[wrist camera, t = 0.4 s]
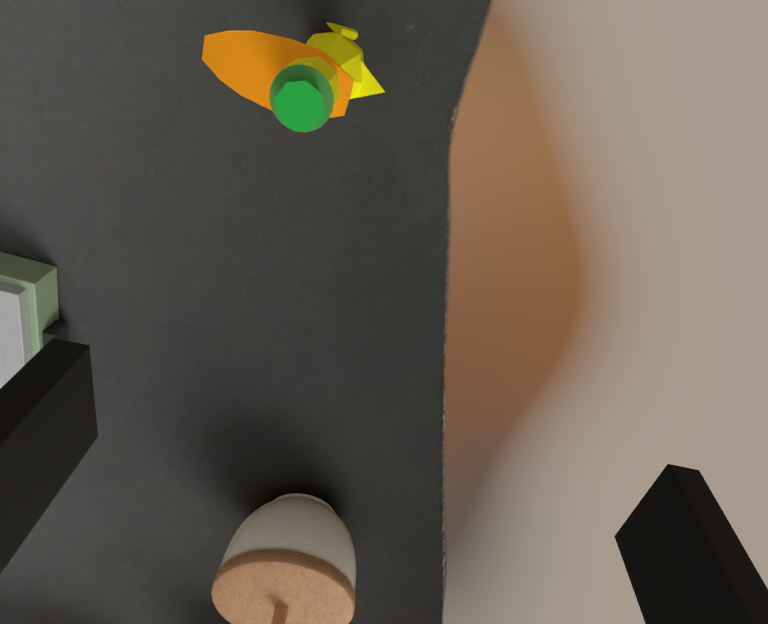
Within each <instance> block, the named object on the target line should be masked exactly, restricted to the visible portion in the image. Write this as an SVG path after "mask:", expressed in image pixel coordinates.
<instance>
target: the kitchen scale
mask: <svg viewBox="0 0 768 624" xmlns="http://www.w3.org/2000/svg"><path fill="white" fill-rule="evenodd" d="M52 338H55V339H60V340H65V341H67V325H66V322H63V321H59V307H58V286H57V267H56V266H53V265H49V264H45V263H42V262H38V261H34V260H30V259H27V258H23V257H19V256H15V255H12V254H8V253H4V252H0V388H2V387H3V386H4V385H5V384H6V383H7V382H8V381H9V380H10V379H11V378H12V377H13V376H14V375H15V374H16V373H17V372H18V371H19V370H20V369H21V368H22V367H23V366H24V365H25V364H26V363H27V362H28V361H29V360H30V359H31V358H32V357H34V356H35V355H36V354H37V353H38V352H39V351H40V350H41V349H42V348H43V347H44V346H45V345H46V344H47V343H48V342H49V341H50V340H51V339H52Z"/></svg>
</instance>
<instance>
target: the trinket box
mask: <svg viewBox="0 0 768 624" xmlns="http://www.w3.org/2000/svg"><path fill="white" fill-rule="evenodd" d="M355 583H356V559H355V552H354V545H353V542H352V539H351V536H350V533H349V531H348V529H347V527H346V526H345V524H344V523H343V521H342V520H341V519H340V518H339V517H338V515H337V514H336V513H335V511H334V510H333V508H332V507H331V506H330V505H329V504H328V503H326V502H325V501H323V500H322V499H320V498H317V497H315V496H312V495H308V494H301V493H292V494H286V495H282V496H280V497H277V498H276V499H274V500H273V501H271V502H269V503H267V504H265V505H263V506H261V507H259V508H258V509H257V510H255V511H254V512H253V513H252V514H250V515H249V516H248V517H247V518H246V520H245V521H244V522H243V523H242V524H241V526H240V527H239V528H238V530H237V532H236V533H235V535H234V536H233V538H232V540H231V542H230V544H229V546H228V548H227V551H226V553H225V556H224V558H223V561H222V563H221V566H220V569H219V570H218V572H217V574H216V576H215V579H214V582H213V585H212V590H211V594H212V600H213V603H214V605H215V607H216V609H217V610H218V612H219V613H220V614H221V615H222V616H223V617H224V618H225V619H226V620H227V621H229V622H230V623H231V624H348V623H349V622H350V621H351V619H352V617H353V614H354V608H355Z"/></svg>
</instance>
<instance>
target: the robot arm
mask: <svg viewBox="0 0 768 624" xmlns="http://www.w3.org/2000/svg"><path fill="white" fill-rule="evenodd" d="M97 437H98V432H97V422H96V411H95V401H94V390H93V380H92V369H91V359H90V348H89V345H84V344H80V343H75V342H70V341H65V340H60V339H55V338H52V339H51V340H50V341H49V342H48V343H47V344H46V345H45V346H44V347H43V348H42V349H41V350H40V351H39V352H38V353H37V354H36V355H35V356H34V357H32V358H31V359H30V360H29V361H28V362H27V363H26V364H25V365H24V366H23V367H22V368H21V369H20V370H19V371H18V372H17V373H16V374H15V375H14V376H13V377H12V378H11V379H10V380H9V381H8V382H7V383H6V384H5V385H4V386H3V387H2V388H0V574H1V573H2V571H3V570H4V568H5V567H6V565H7V564H8V563H9V561H10V560H11V558H12V557H13V556H14V554H15V553H16V551H17V550H18V548H19V547H20V546H21V544H22V543H23V541H24V540H25V539H26V537H27V536H28V534H29V533H30V532H31V530H32V529H33V527H34V526H35V524H36V523H37V522H38V520H39V519H40V517H41V516H42V515H43V513H44V512H45V510H46V509H47V508H48V506H49V505H50V503H51V502H52V500H53V499H54V498H55V496H56V495H57V493H58V492H59V491H60V489H61V488H62V486H63V485H64V483H65V482H66V481H67V479H68V478H69V476H70V475H71V474H72V472H73V471H74V469H75V468H76V467H77V465H78V464H79V462H80V461H81V459H82V458H83V457H84V455H85V454H86V452H87V451H88V450H89V448H90V447H91V445H92V444H93V443H94V441H95V440H96V438H97ZM615 539H616V542H617V544H618V547H619V550H620V553H621V556H622V558H623V561H624V564H625V567H626V570H627V572H628V575H629V578H630V581H631V583H632V586H633V589H634V592H635V595H636V598H637V601H638V603H639V606H640V609H641V612H642V614H643V617H644V620H645V623H646V624H768V589H767V587H766V586H765V584H764V582H763V581H762V579H761V577H760V575H759V573H758V572H757V570H756V568H755V567H754V565H753V563H752V561H751V560H750V558H749V556H748V554H747V553H746V551H745V549H744V547H743V546H742V544H741V542H740V541H739V539H738V537H737V535H736V534H735V532H734V530H733V529H732V527H731V525H730V523H729V521H728V520H727V518H726V516H725V515H724V513H723V511H722V510H721V508H720V506H719V504H718V502H717V501H716V499H715V497H714V496H713V494H712V492H711V490H710V489H709V487H708V485H707V483H706V482H705V480H704V478H703V476H702V475H701V473H700V472H699V470H695V469H690V468H685V467H680V466H675V465H670V464H668V465H667V466H666V467H665V469H664V470H663V471H662V473H661V474H660V476H659V477H658V478H657V480H656V481H655V482H654V484H653V485H652V486H651V488H650V489H649V490H648V492H647V493H646V494H645V496H644V497H643V498H642V500H641V501H640V503H639V504H638V505H637V507H636V508H635V509H634V511H633V512H632V513H631V515H630V516H629V518H628V519H627V520H626V522H625V523H624V524H623V526H622V527H621V528H620V530H619V531H618V532H617V534H616V535H615Z"/></svg>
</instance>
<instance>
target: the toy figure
mask: <svg viewBox="0 0 768 624" xmlns="http://www.w3.org/2000/svg"><path fill="white" fill-rule="evenodd" d="M326 23H327V25H328V26H329V27H330V28H331V29H332V30H333V31H334V32H327V33H313V35H312V36H311V37H310V38H309V40H308V41H307V43H306V44H303V43H301V42H298V41H295V40H292V39H289V38H284V37H280V36H275V35H271V34H266V33H262V32H257V31H224V32H219V33H215V34H210V35H205V39H204V47H203V55H202V60H203V61H204V62H205V63H206V64H207V65H208V67H209V68H210V69H211V70H212V71H213V72H214V73H215V74H216V76H217V77H218V78H219V79H220V80H221V81H222V82H224V83H225V84H226V85H228V86H229V87H230V88H232V89H233V90H235V91H236V92H237V93H239V94H240V95H241V96H243V97H245V98H247V99H249V100H252V101H254V102H256V103H258V104H260V105H262V106H264V107H266V108H268V109H270V110H272V111H273V113H274V114H275V116H276V118H277V119H278V120H279V121H280V122H281V123H282V124H283V125H285V126H286V127H287V128H289V129H292V130H293V131H298V132H310V131H314V130H316V129H318V128H320V127H321V126H323V125H324V124H325V123H326V122H327V120H328V119H329V118H331V117H338V116H344V115H345V111H346V108H347V105H348V102H349V99H352V98H358V97H363V96H368V95H373V94H378V93H383V92H385V91H384V90H383V89H382V87H381V86H380V85H379V83H378V82H377V81H376V79H375V78H374V77H373V76H372V74H371V73H370V72H369V70H368V69H367V68H366V66H365V65H364V59H363V50H362V49H361V48H360V47H359V46H358V45H357V44H356V43H355V42H354V41H353V40H356V38H357V37H358V33H357V31H356V30H354V29H351V28H348V27H345V26H341V25H338V24H335V23H330V22H326Z"/></svg>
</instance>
